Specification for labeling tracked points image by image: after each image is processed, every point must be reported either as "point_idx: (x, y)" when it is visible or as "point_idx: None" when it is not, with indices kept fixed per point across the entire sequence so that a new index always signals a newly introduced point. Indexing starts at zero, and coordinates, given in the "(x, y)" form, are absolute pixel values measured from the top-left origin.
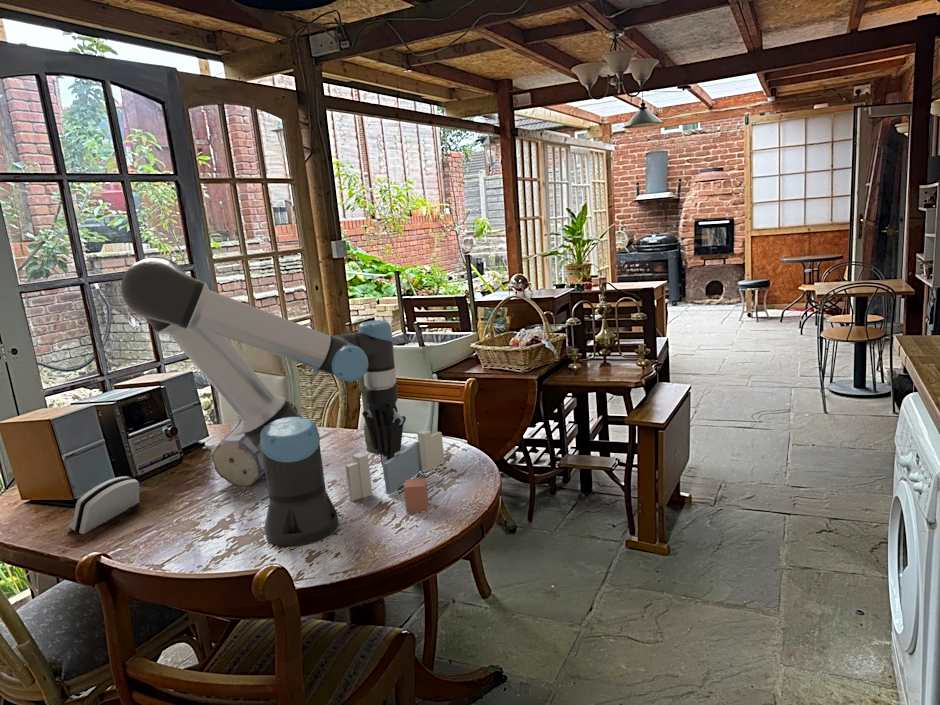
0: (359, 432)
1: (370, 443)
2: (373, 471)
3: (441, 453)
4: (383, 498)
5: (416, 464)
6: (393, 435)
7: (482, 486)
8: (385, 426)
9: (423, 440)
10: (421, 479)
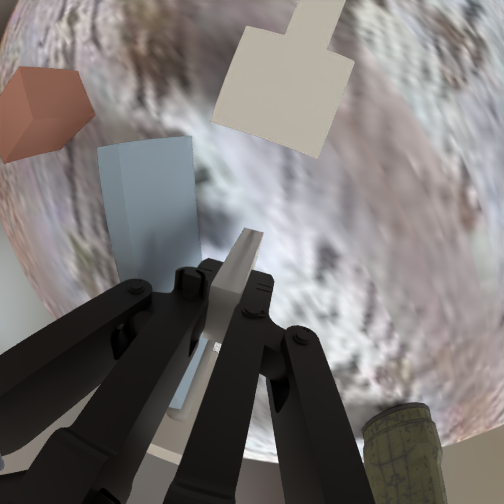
0: (451, 440)
1: (420, 422)
2: (371, 320)
3: None
4: (194, 114)
5: None
6: (30, 354)
7: (36, 274)
8: (49, 449)
9: (160, 423)
10: (6, 148)
